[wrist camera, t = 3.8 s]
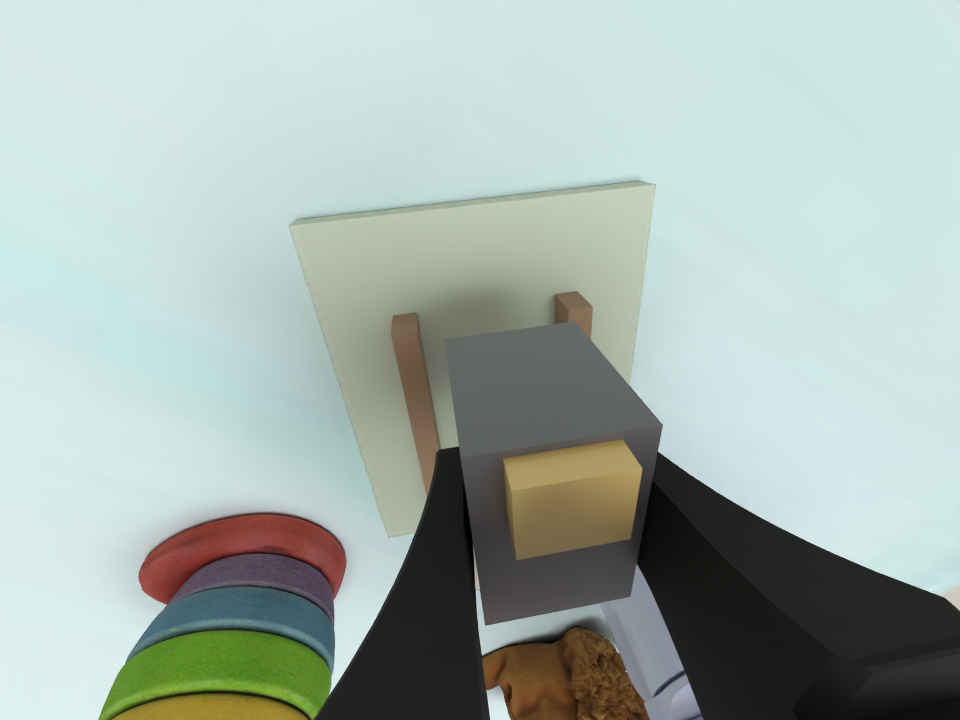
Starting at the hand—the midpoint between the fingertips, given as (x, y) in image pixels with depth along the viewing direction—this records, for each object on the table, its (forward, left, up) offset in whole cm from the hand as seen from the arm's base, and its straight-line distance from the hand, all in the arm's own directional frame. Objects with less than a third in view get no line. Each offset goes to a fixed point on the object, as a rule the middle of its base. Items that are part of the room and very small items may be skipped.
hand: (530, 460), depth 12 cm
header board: (-3, 0, -9) cm, 9 cm away
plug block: (0, 0, -2) cm, 2 cm away
